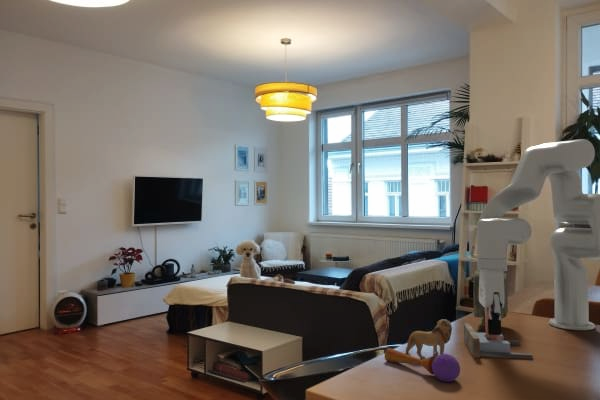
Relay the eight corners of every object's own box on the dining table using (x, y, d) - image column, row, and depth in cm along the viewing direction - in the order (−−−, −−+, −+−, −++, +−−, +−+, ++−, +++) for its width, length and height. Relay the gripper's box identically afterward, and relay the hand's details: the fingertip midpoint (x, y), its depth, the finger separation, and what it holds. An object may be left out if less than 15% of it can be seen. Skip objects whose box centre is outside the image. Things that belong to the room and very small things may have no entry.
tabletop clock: (478, 321, 159) (478, 246, 159) (508, 323, 155) (507, 247, 155) (473, 331, 146) (472, 250, 146) (505, 334, 142) (504, 251, 142)
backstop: (463, 340, 136) (463, 323, 136) (517, 342, 133) (517, 325, 133) (473, 357, 120) (473, 338, 120) (534, 361, 117) (534, 341, 118)
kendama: (397, 342, 121) (465, 356, 105) (396, 367, 120) (465, 384, 104) (381, 342, 117) (449, 356, 101) (380, 367, 116) (448, 385, 100)
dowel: (484, 346, 129) (484, 302, 129) (498, 346, 128) (497, 302, 128) (487, 350, 125) (486, 305, 126) (501, 350, 125) (501, 305, 125)
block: (471, 342, 133) (471, 332, 133) (501, 344, 131) (501, 333, 131) (477, 353, 123) (477, 342, 123) (510, 355, 121) (510, 343, 121)
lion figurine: (443, 349, 127) (443, 316, 127) (457, 355, 122) (457, 320, 122) (398, 357, 121) (398, 322, 121) (411, 363, 116) (411, 326, 117)
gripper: (472, 260, 136) (472, 324, 136) (483, 268, 120) (484, 340, 119) (499, 261, 135) (500, 325, 134) (514, 268, 118) (515, 341, 118)
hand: (492, 331), depth 127 cm, fingers closed on dowel, 3 cm apart
